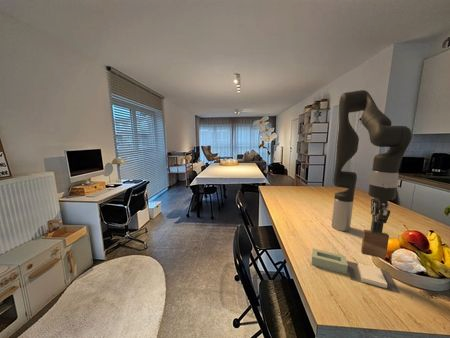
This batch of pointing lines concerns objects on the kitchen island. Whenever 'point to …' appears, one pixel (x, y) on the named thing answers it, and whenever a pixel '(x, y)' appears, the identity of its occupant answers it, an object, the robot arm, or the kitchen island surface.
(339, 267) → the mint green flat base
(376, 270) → the tile
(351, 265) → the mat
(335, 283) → the kitchen island surface
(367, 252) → the brown wooden block
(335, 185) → the robot arm
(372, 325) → the kitchen island surface
